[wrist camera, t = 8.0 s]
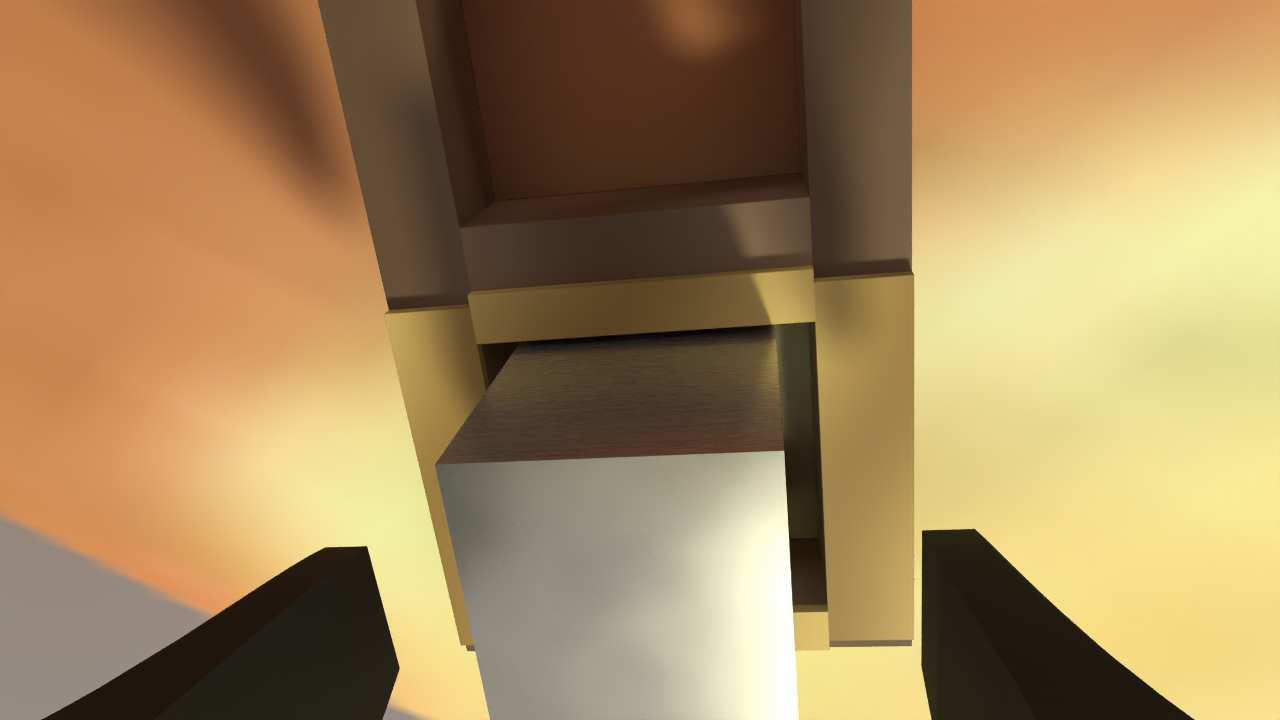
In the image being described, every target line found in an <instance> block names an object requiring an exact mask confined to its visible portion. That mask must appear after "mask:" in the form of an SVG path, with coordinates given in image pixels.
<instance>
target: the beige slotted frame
mask: <svg viewBox="0 0 1280 720" xmlns="http://www.w3.org/2000/svg"><path fill="white" fill-rule="evenodd" d="M318 3H319V8H320V12H321V16H322V21H323V25H324V29H325V34H326V38H327V42H328V47H329V51H330V56H331V60H332V64H333V69H334V73H335V77H336V82H337V86H338V90H339V95H340V99H341V103H342V108H343V112H344V116H345V121H346V125H347V130H348V134H349V138H350V143H351V147H352V151H353V156H354V160H355V164H356V169H357V173H358V177H359V182H360V186H361V190H362V195H363V199H364V204H365V208H366V212H367V217H368V221H369V225H370V230H371V234H372V238H373V243H374V247H375V251H376V256H377V260H378V264H379V269H380V273H381V278H382V282H383V286H384V291H385V295H386V299H387V304H388V308H389V311H387V312H386V313H385V314H384V316H385V320H386V325H387V329H388V333H389V338H390V342H391V346H392V351H393V355H394V359H395V364H396V368H397V372H398V376H399V381H400V385H401V389H402V394H403V398H404V402H405V407H406V411H407V415H408V419H409V424H410V428H411V432H412V437H413V441H414V445H415V450H416V454H417V458H418V463H419V467H420V471H421V475H422V480H423V484H424V488H425V493H426V497H427V501H428V506H429V510H430V514H431V518H432V523H433V527H434V531H435V536H436V540H437V544H438V549H439V553H440V557H441V562H442V566H443V570H444V574H445V579H446V583H447V587H448V592H449V596H450V600H451V605H452V609H453V613H454V617H455V622H456V626H457V630H458V635H459V639H460V643H461V645H466V648H467V651H475V647H474V642H473V638H472V633H471V628H470V624H469V619H468V615H467V610H466V605H465V601H464V596H463V592H462V587H461V583H460V578H459V573H458V569H457V564H456V560H455V555H454V550H453V546H452V541H451V537H450V532H449V527H448V523H447V518H446V514H445V509H444V504H443V500H442V495H441V491H440V486H439V482H438V477H437V472H436V468H435V464H436V462H437V461H438V459H439V458H440V457H441V455H442V454H443V452H444V451H445V449H446V448H447V447H448V445H449V444H450V442H451V441H452V439H453V438H454V437H455V435H456V434H457V432H458V431H459V429H460V428H461V426H462V425H463V424H464V422H465V421H466V419H467V418H468V416H469V415H470V414H471V412H472V411H473V409H474V408H475V406H476V405H477V404H478V402H479V401H480V399H481V398H482V396H483V395H484V394H485V392H486V391H487V389H488V388H489V386H490V385H491V384H492V382H493V381H494V379H495V378H496V376H497V375H498V374H499V372H500V371H501V369H502V368H503V366H504V365H505V364H506V362H507V361H508V359H509V358H510V356H511V355H512V354H513V352H514V351H515V349H516V348H517V346H518V345H519V344H520V341H534V340H549V339H564V338H578V337H593V336H608V335H623V334H638V333H653V332H668V331H683V330H697V329H712V328H727V327H742V326H757V325H772V324H787V323H801V322H809V340H810V362H811V384H812V406H813V428H814V450H815V472H816V494H817V516H818V537H819V539H790V540H789V552H790V571H791V590H792V609H793V627H794V646H795V651H798V650H830V648H829V647H872V646H912V640H914V274H913V272H912V0H794V11H795V33H796V55H797V77H798V99H799V121H800V142H801V164H802V173H795V174H784V175H773V176H763V177H752V178H741V179H730V180H720V181H709V182H698V183H687V184H677V185H666V186H655V187H645V188H634V189H623V190H612V191H602V192H591V193H580V194H569V195H559V196H548V197H537V198H526V199H516V200H505V201H495V197H494V191H493V185H492V180H491V174H490V168H489V163H488V157H487V151H486V145H485V140H484V134H483V128H482V122H481V117H480V111H479V105H478V100H477V94H476V88H475V82H474V77H473V71H472V65H471V60H470V54H469V48H468V42H467V37H466V31H465V25H464V19H463V14H462V8H461V2H460V0H318Z"/></svg>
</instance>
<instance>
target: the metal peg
mask: <svg viewBox="0 0 1280 720" xmlns="http://www.w3.org/2000/svg"><path fill="white" fill-rule="evenodd" d="M435 468H436V472H437V477H438V482H439V486H440V491H441V495H442V500H443V504H444V509H445V514H446V518H447V523H448V527H449V532H450V537H451V541H452V546H453V550H454V555H455V560H456V564H457V569H458V573H459V578H460V583H461V587H462V592H463V596H464V601H465V605H466V610H467V615H468V619H469V624H470V628H471V633H472V638H473V642H474V647H475V651H476V656H477V661H478V665H479V670H480V674H481V679H482V683H483V688H484V693H485V697H486V702H487V706H488V711H489V716H490V720H798V703H797V684H796V665H795V646H794V627H793V609H792V590H791V571H790V552H789V533H788V514H787V495H786V476H785V458H784V442H783V429H782V415H781V402H780V388H779V375H778V361H777V348H776V334H775V324H772V325H757V326H742V327H727V328H712V329H697V330H683V331H668V332H653V333H638V334H623V335H608V336H593V337H578V338H564V339H549V340H534V341H521V342H520V344H519V345H518V346H517V348H516V349H515V351H514V352H513V354H512V355H511V356H510V358H509V359H508V361H507V362H506V364H505V365H504V366H503V368H502V369H501V371H500V372H499V374H498V375H497V376H496V378H495V379H494V381H493V382H492V384H491V385H490V386H489V388H488V389H487V391H486V392H485V394H484V395H483V396H482V398H481V399H480V401H479V402H478V404H477V405H476V406H475V408H474V409H473V411H472V412H471V414H470V415H469V416H468V418H467V419H466V421H465V422H464V424H463V425H462V426H461V428H460V429H459V431H458V432H457V434H456V435H455V437H454V438H453V439H452V441H451V442H450V444H449V445H448V447H447V448H446V449H445V451H444V452H443V454H442V455H441V457H440V458H439V459H438V461H437V462H436V464H435Z"/></svg>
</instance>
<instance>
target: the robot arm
mask: <svg viewBox="0 0 1280 720" xmlns="http://www.w3.org/2000/svg"><path fill="white" fill-rule="evenodd" d="M921 666H922V671H923V677H924V682H925V687H926V693H927V698H928V703H929V709H930V714H931V719H932V720H1194V719H1193V718H1191V717H1190V716H1189V715H1187V714H1186V713H1185V712H1183V711H1182V710H1180V709H1179V708H1178V707H1176V706H1175V705H1174V704H1172V703H1171V702H1170V701H1168V700H1167V699H1165V698H1164V697H1163V696H1162V695H1160V694H1159V693H1158V692H1156V691H1155V690H1154V689H1153V688H1151V687H1150V686H1149V685H1147V684H1146V683H1145V682H1144V681H1142V680H1141V679H1140V678H1139V677H1137V676H1136V675H1135V674H1134V673H1132V672H1131V671H1130V670H1129V669H1127V668H1126V667H1125V666H1123V665H1122V664H1121V663H1120V662H1118V661H1117V660H1116V659H1115V658H1113V657H1112V656H1111V655H1110V654H1109V653H1107V652H1106V651H1105V650H1104V649H1103V648H1102V647H1100V646H1099V645H1098V644H1097V643H1096V642H1095V641H1094V640H1092V639H1091V638H1090V637H1089V636H1088V635H1087V634H1086V633H1085V632H1083V631H1082V630H1081V629H1080V628H1079V627H1078V626H1077V625H1076V624H1074V623H1073V622H1072V621H1071V620H1070V619H1069V618H1068V617H1067V616H1065V615H1064V614H1063V613H1062V612H1061V611H1060V610H1059V609H1058V608H1057V607H1056V606H1054V605H1053V604H1052V603H1051V602H1050V601H1049V600H1048V599H1047V598H1046V597H1045V596H1044V595H1043V594H1042V593H1041V592H1039V591H1038V590H1037V589H1036V588H1035V587H1034V586H1033V585H1032V584H1031V583H1030V582H1029V581H1028V580H1027V579H1026V578H1025V577H1024V576H1023V575H1022V574H1021V573H1020V572H1019V571H1018V570H1017V569H1016V568H1015V567H1014V566H1013V565H1012V564H1011V563H1010V562H1009V561H1008V560H1006V559H1005V558H1004V557H1003V556H1002V555H1001V554H1000V553H999V552H998V551H997V550H996V549H995V548H994V547H993V546H992V545H991V544H990V543H989V542H988V541H987V540H986V539H985V538H984V537H983V536H982V535H981V534H980V533H979V532H977V531H976V530H975V529H960V530H925V531H922V661H921ZM399 669H400V668H399V664H398V660H397V657H396V653H395V649H394V645H393V642H392V638H391V634H390V630H389V627H388V623H387V619H386V616H385V612H384V608H383V604H382V601H381V597H380V593H379V589H378V586H377V582H376V578H375V575H374V571H373V567H372V563H371V560H370V556H369V552H368V548H367V546H362V547H327V548H323V549H321V550H319V551H318V552H316V553H314V554H312V555H310V556H308V557H306V558H305V559H303V560H301V561H300V562H298V563H296V564H295V565H293V566H291V567H290V568H288V569H287V570H285V571H283V572H282V573H280V574H279V575H277V576H275V577H274V578H272V579H271V580H269V581H268V582H266V583H265V584H263V585H261V586H260V587H258V588H257V589H255V590H254V591H252V592H251V593H249V594H248V595H246V596H245V597H243V598H242V599H240V600H239V601H237V602H235V603H234V604H232V605H231V606H229V607H228V608H226V609H225V610H223V611H222V612H220V613H219V614H217V615H215V616H214V617H212V618H211V619H209V620H208V621H206V622H205V623H203V624H202V625H200V626H199V627H197V628H196V629H194V630H192V631H191V632H190V633H188V634H186V635H185V636H183V637H182V638H180V639H179V640H177V641H175V642H174V643H172V644H170V645H169V646H167V647H165V648H164V649H162V650H161V651H159V652H157V653H155V654H154V655H152V656H151V657H149V658H147V659H146V660H144V661H143V662H141V663H139V664H137V665H136V666H134V667H133V668H131V669H129V670H128V671H126V672H124V673H123V674H121V675H120V676H118V677H116V678H115V679H113V680H111V681H110V682H108V683H106V684H105V685H103V686H101V687H100V688H98V689H96V690H94V691H93V692H91V693H89V694H87V695H86V696H84V697H82V698H80V699H79V700H77V701H75V702H73V703H71V704H70V705H68V706H66V707H64V708H63V709H61V710H59V711H57V712H55V713H53V714H51V715H49V716H48V717H46V718H44V719H42V720H382V719H383V716H384V713H385V711H386V708H387V705H388V702H389V699H390V696H391V693H392V690H393V687H394V684H395V681H396V678H397V675H398V672H399Z"/></svg>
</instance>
